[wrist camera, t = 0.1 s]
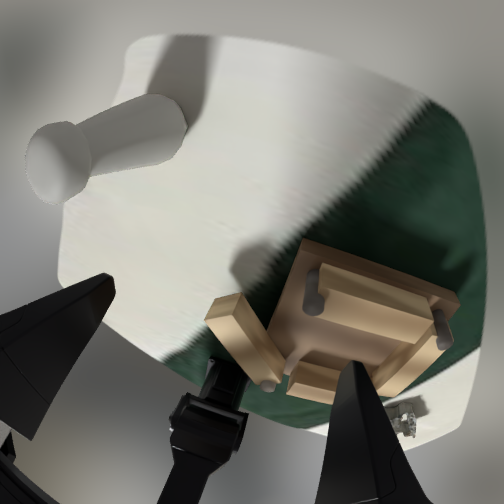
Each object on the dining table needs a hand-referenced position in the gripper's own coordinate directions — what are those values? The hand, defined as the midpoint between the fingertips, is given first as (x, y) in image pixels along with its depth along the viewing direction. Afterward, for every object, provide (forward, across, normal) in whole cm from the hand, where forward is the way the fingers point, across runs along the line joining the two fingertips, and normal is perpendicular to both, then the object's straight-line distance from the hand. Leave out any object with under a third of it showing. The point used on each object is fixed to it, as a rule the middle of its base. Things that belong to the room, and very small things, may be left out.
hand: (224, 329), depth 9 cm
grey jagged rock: (+15, -30, +30) cm, 45 cm away
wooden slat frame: (+15, -11, +12) cm, 22 cm away
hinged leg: (+12, -1, +15) cm, 19 cm away
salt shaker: (+15, +11, -3) cm, 19 cm away
